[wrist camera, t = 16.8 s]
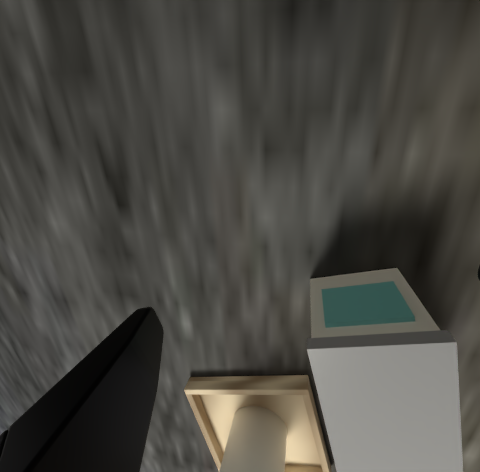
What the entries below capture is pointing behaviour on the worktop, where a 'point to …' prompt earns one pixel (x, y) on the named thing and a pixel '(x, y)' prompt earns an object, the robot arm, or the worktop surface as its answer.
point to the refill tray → (267, 396)
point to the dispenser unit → (384, 375)
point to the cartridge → (255, 442)
